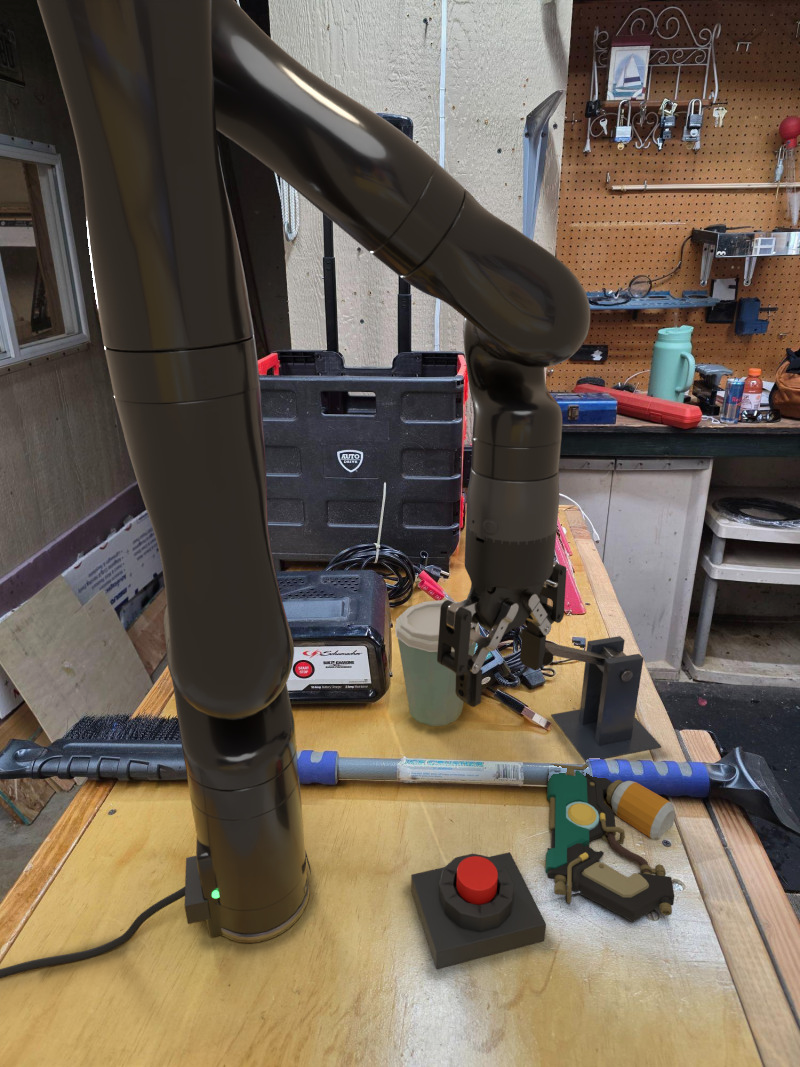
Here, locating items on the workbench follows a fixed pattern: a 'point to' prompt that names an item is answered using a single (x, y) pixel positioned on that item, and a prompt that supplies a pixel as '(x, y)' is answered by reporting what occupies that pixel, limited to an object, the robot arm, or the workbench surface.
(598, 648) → the bracket
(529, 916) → the control box
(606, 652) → the lever
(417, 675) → the disposable coffee cup
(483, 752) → the workbench surface
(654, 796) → the spray gun
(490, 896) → the button
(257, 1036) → the workbench surface
